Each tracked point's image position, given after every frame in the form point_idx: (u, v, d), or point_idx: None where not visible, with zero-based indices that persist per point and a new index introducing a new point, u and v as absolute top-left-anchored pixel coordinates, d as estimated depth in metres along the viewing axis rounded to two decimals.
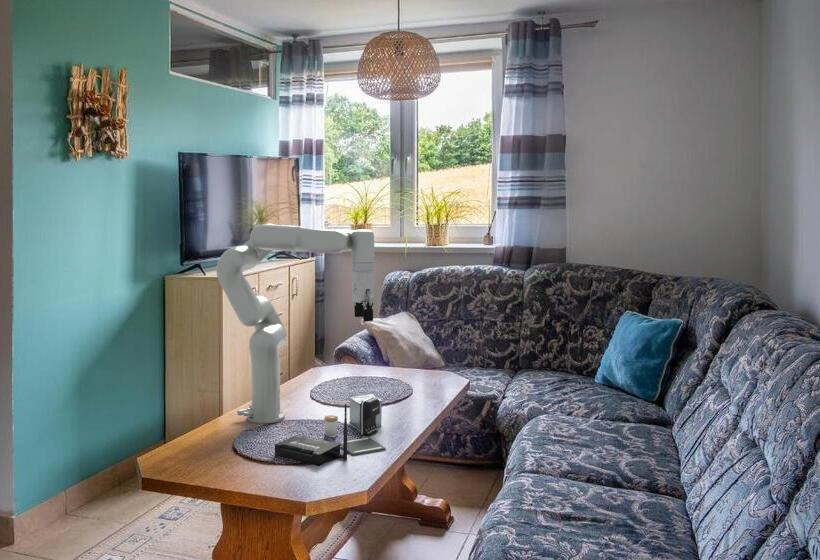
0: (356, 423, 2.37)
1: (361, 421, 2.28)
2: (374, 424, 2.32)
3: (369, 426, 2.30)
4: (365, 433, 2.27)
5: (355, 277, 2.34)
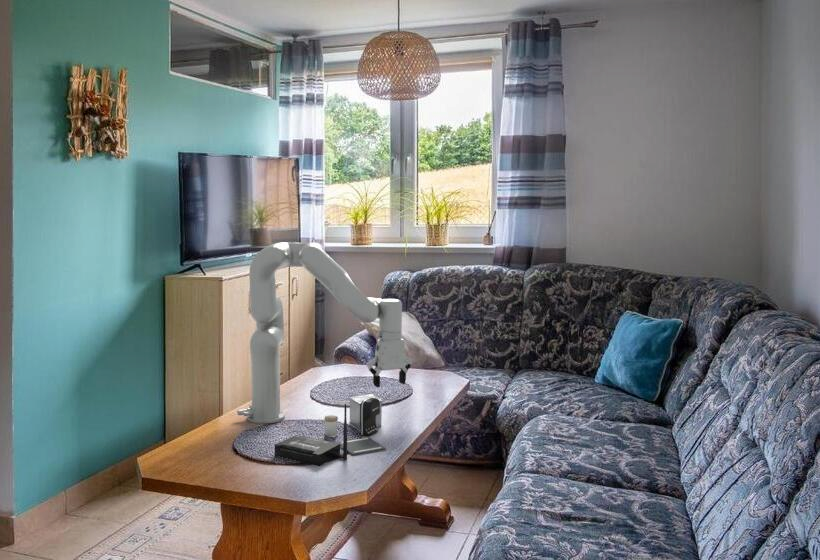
0: (356, 423, 2.37)
1: (361, 421, 2.28)
2: (374, 424, 2.32)
3: (369, 426, 2.30)
4: (365, 433, 2.27)
5: (394, 346, 2.39)
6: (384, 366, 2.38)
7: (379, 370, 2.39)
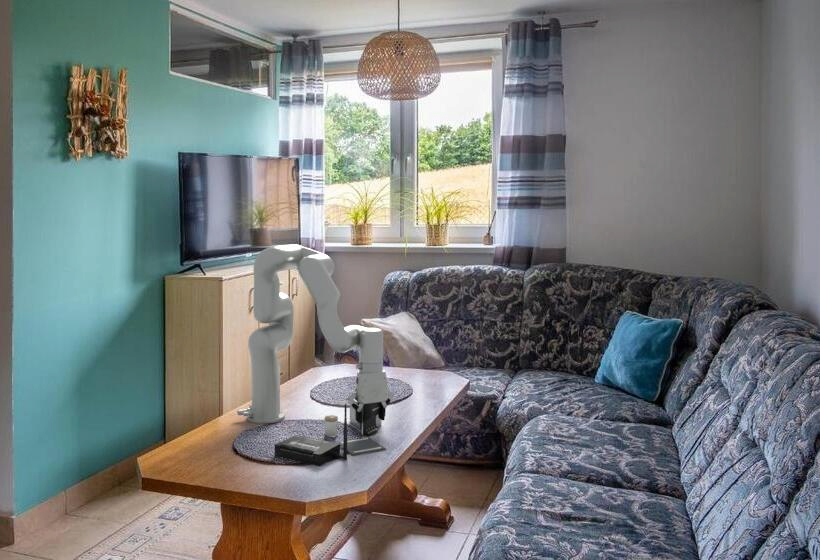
0: (356, 423, 2.37)
1: None
2: (374, 424, 2.32)
3: (369, 426, 2.30)
4: (365, 433, 2.27)
5: (374, 378, 2.26)
6: (364, 400, 2.25)
7: (361, 405, 2.26)
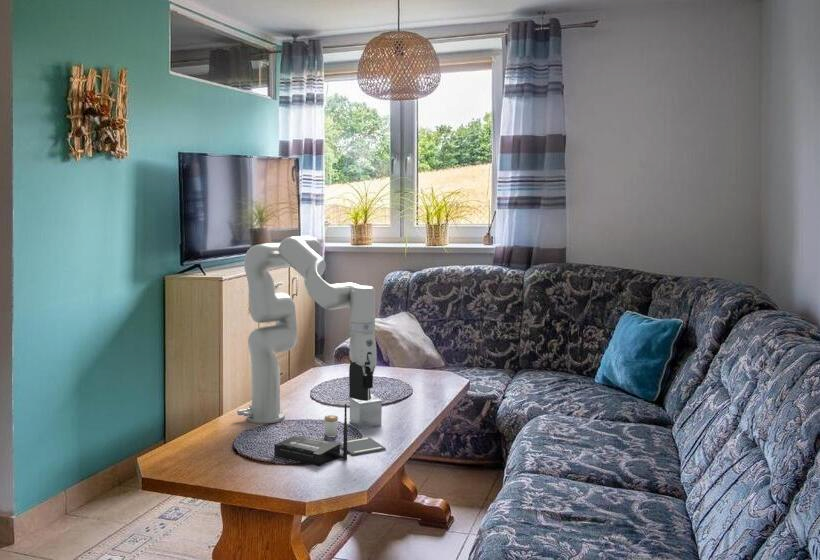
0: (356, 423, 2.37)
1: None
2: None
3: None
4: (370, 396, 2.15)
5: None
6: None
7: None
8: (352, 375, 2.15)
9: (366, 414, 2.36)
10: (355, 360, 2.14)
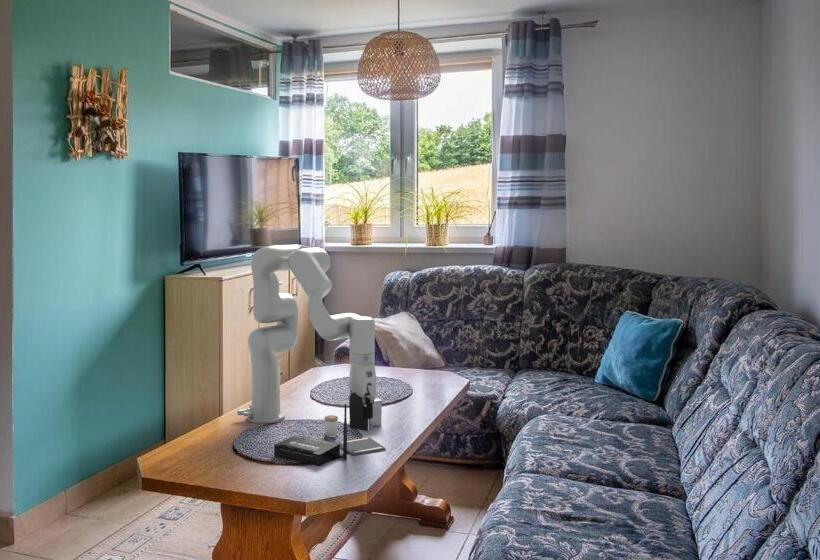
0: None
1: None
2: None
3: None
4: (370, 427, 2.16)
5: None
6: None
7: None
8: (352, 405, 2.16)
9: None
10: (355, 391, 2.15)
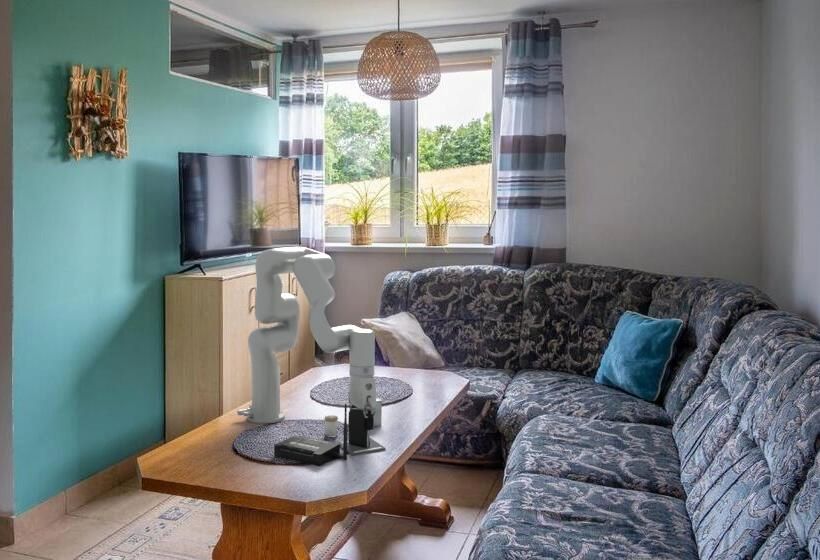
0: None
1: (367, 432, 2.15)
2: None
3: None
4: (369, 443, 2.17)
5: None
6: None
7: None
8: (351, 422, 2.17)
9: None
10: (355, 403, 2.15)
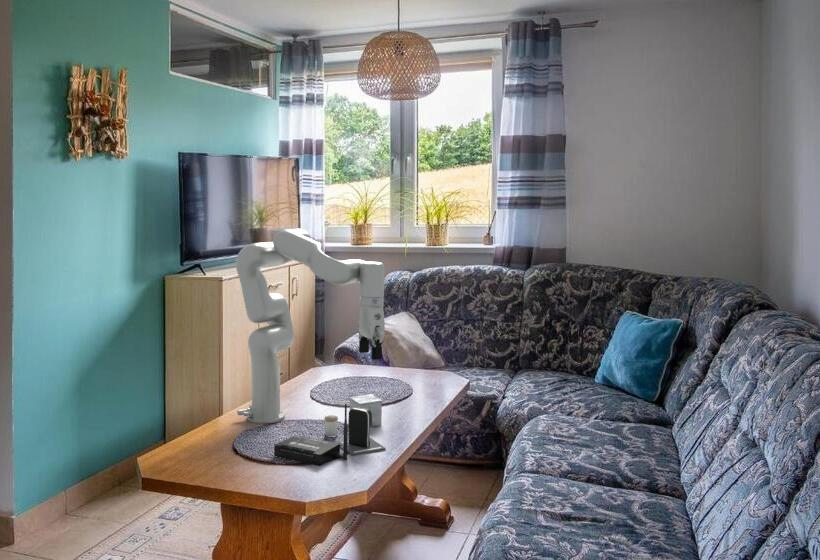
0: None
1: (367, 432, 2.15)
2: None
3: None
4: (369, 443, 2.17)
5: None
6: None
7: None
8: (351, 422, 2.17)
9: None
10: (364, 333, 2.22)
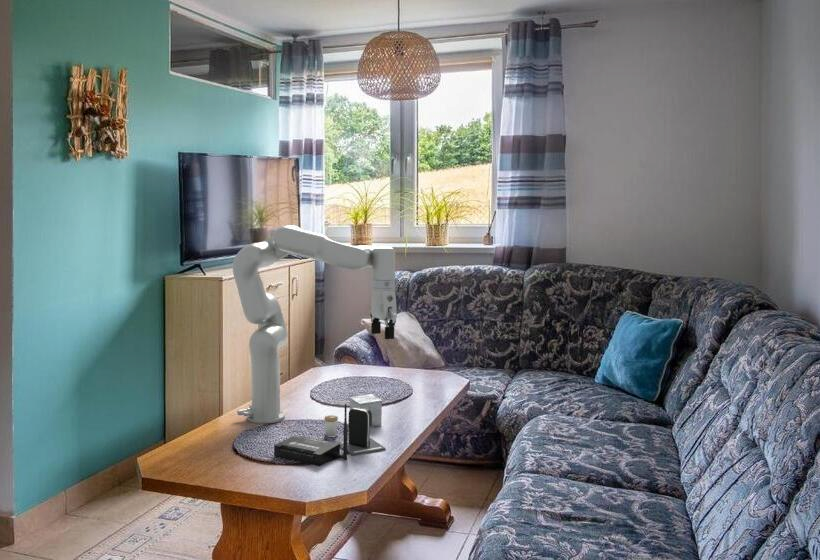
0: None
1: (367, 432, 2.15)
2: None
3: None
4: (369, 443, 2.17)
5: None
6: None
7: None
8: (351, 422, 2.17)
9: None
10: (377, 315, 2.34)
